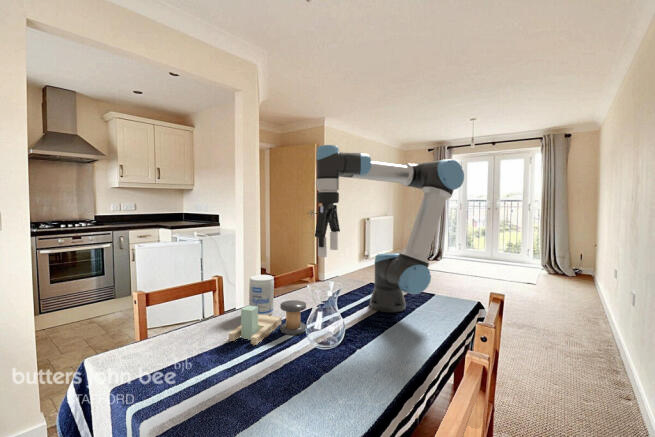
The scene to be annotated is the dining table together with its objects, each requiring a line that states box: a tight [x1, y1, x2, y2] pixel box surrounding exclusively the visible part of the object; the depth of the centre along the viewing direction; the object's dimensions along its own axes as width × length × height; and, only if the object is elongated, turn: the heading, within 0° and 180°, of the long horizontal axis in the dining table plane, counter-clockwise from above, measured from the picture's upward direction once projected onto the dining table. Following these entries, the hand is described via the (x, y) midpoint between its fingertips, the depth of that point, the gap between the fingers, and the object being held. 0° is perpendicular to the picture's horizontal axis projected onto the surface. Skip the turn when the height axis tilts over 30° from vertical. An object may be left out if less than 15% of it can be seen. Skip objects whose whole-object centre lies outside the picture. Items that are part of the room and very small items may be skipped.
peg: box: [240, 304, 258, 341], centre depth 104 cm, size 4×4×10 cm
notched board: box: [228, 314, 282, 346], centre depth 109 cm, size 18×10×2 cm, turn 163°
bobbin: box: [279, 299, 307, 336], centre depth 111 cm, size 9×9×9 cm
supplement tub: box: [248, 274, 275, 316], centre depth 126 cm, size 10×10×15 cm
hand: (328, 253), depth 109 cm, fingers open, 13 cm apart
